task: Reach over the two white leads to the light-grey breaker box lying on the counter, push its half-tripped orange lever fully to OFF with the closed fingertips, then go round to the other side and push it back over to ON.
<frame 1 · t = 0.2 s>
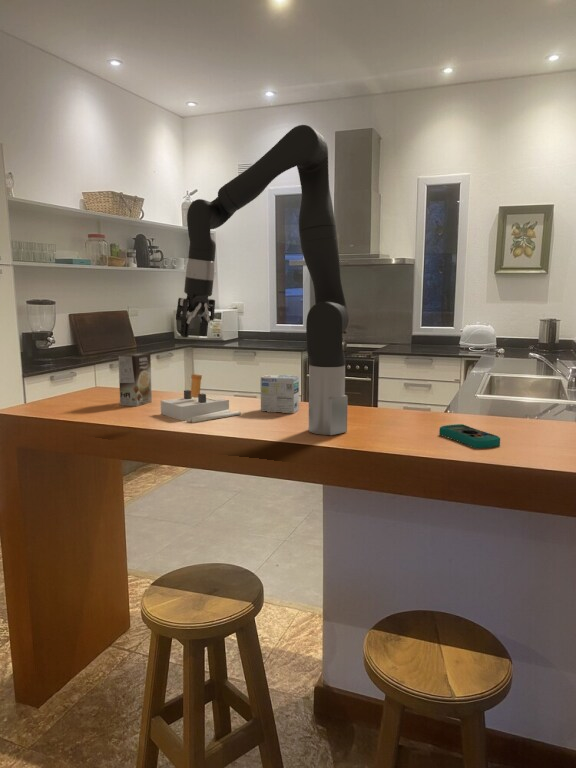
hand: (193, 336, 157), 23 cm above the table, tool pointing down, fingers open, 8 cm apart
coffee box: (136, 404, 184), on the table
breaker box: (195, 413, 168), on the table
cord a: (217, 418, 161), on the table
digital multimeter: (468, 442, 138), on the table
cord b: (209, 417, 163), on the table
lever: (195, 385, 167), point 8 cm above the table, hinge at -6.0°
light bulb box: (280, 411, 173), on the table
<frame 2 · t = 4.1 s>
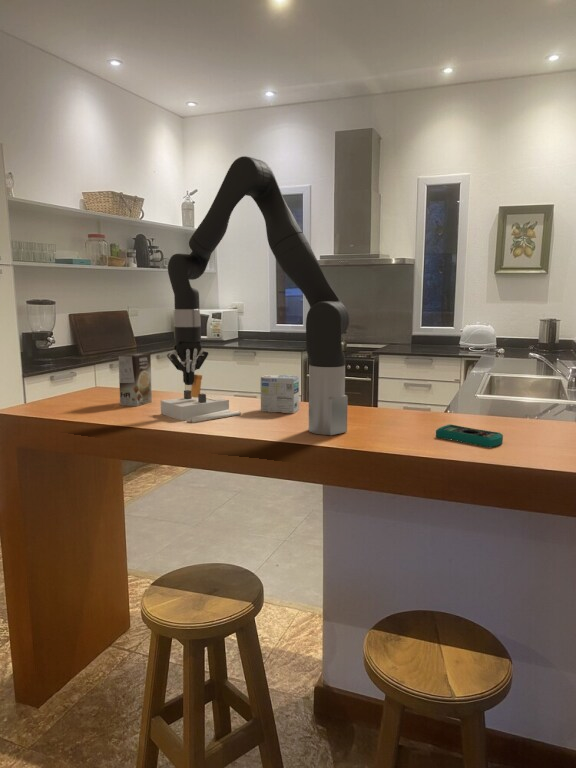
hand: (188, 384, 166), 9 cm above the table, tool pointing down, fingers closed
lever: (196, 385, 167), point 8 cm above the table, hinge at -7.4°, touching gripper
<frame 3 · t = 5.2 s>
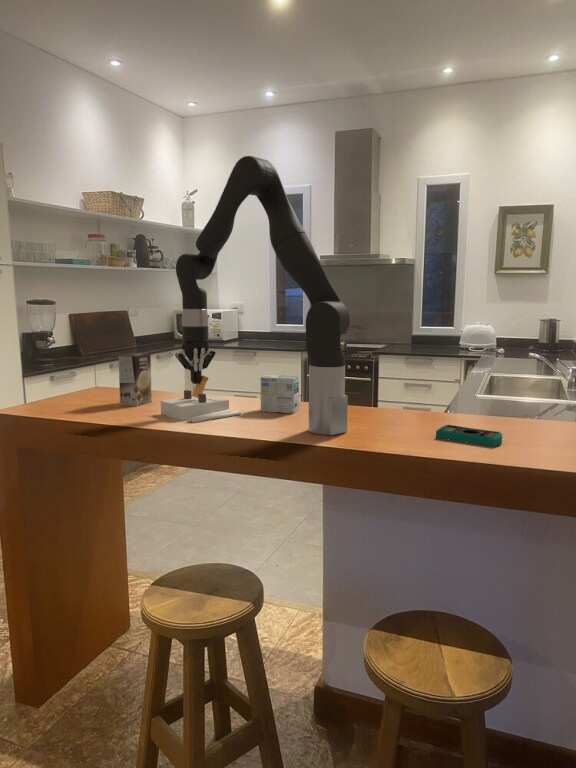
hand: (196, 383, 167), 9 cm above the table, tool pointing down, fingers closed
lever: (199, 386, 168), point 8 cm above the table, hinge at -25.3°, touching gripper
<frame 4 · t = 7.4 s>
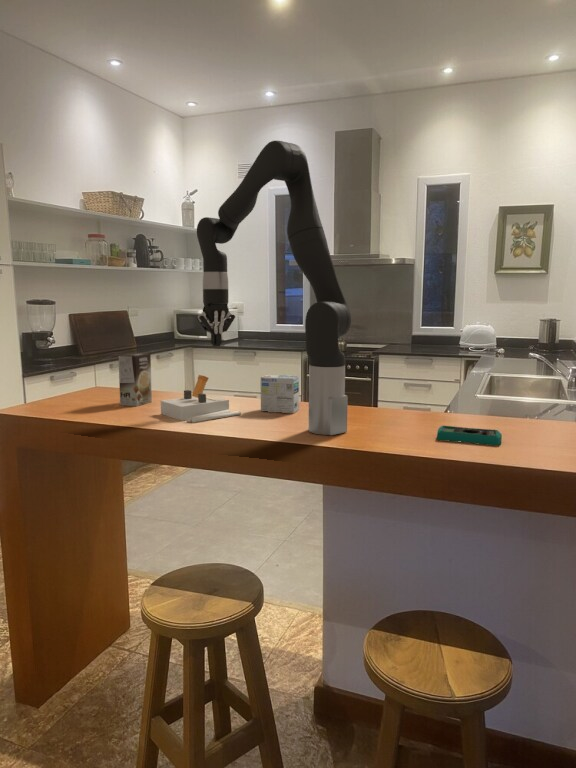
hand: (216, 346, 170), 20 cm above the table, tool pointing down, fingers closed
lever: (199, 386, 168), point 8 cm above the table, hinge at -25.5°
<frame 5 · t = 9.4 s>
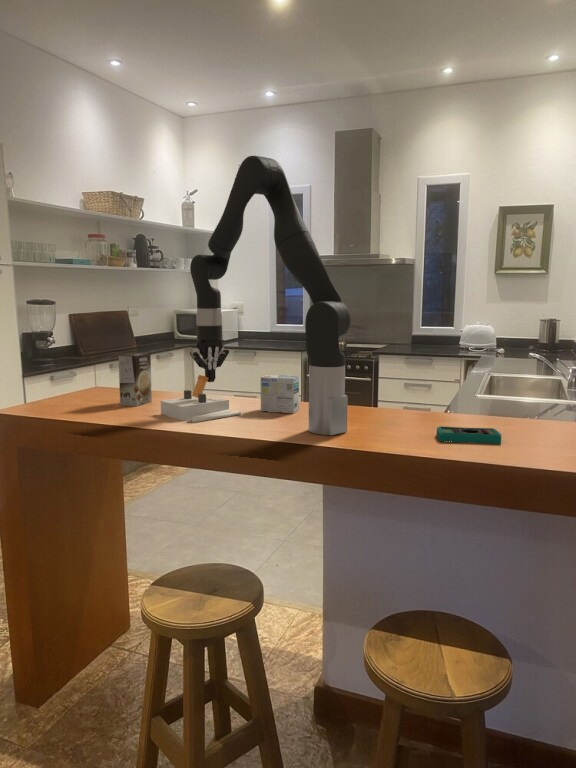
hand: (210, 381, 171), 9 cm above the table, tool pointing down, fingers closed
lever: (199, 386, 168), point 8 cm above the table, hinge at -25.3°, touching gripper
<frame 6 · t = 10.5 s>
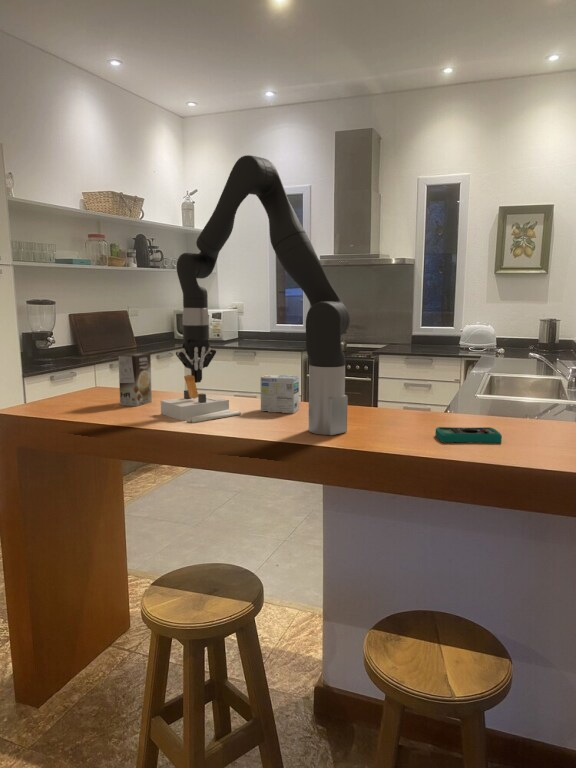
hand: (196, 382, 168), 9 cm above the table, tool pointing down, fingers closed
lever: (191, 386, 166), point 8 cm above the table, hinge at 13.6°, touching gripper
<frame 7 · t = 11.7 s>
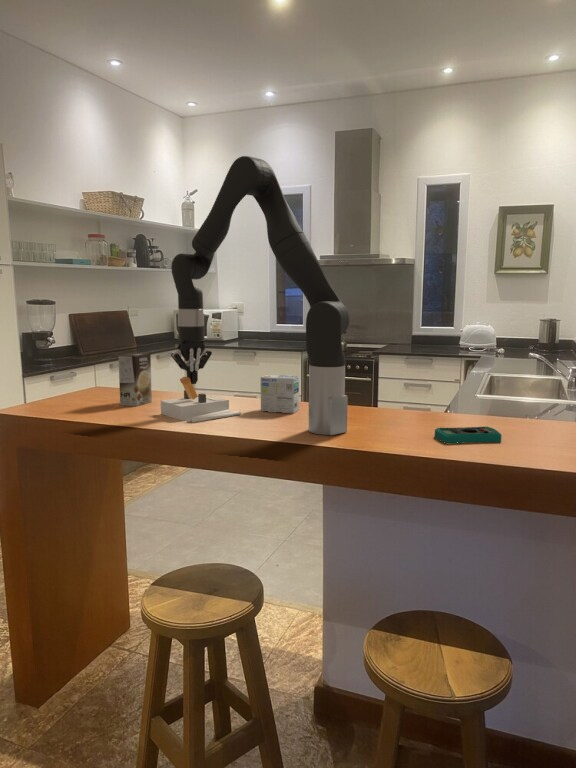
hand: (192, 383, 167), 9 cm above the table, tool pointing down, fingers closed
lever: (189, 388, 166), point 8 cm above the table, hinge at 26.0°, touching gripper
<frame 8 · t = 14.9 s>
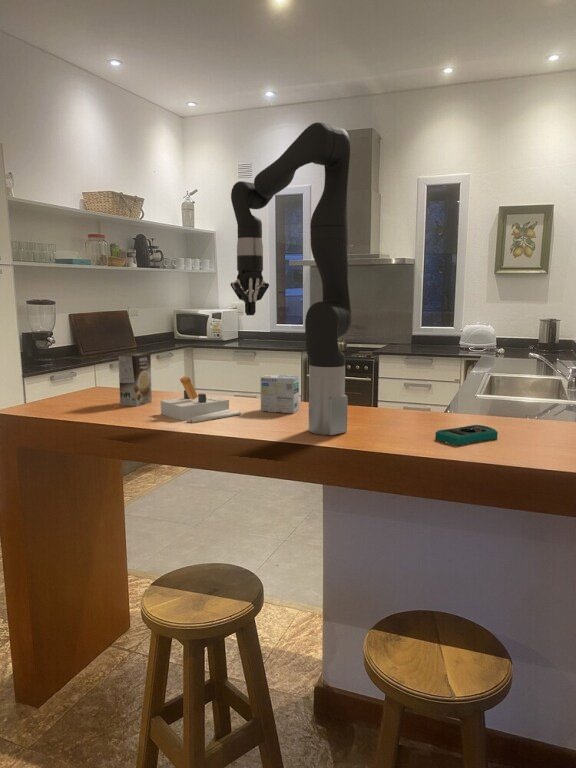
hand: (250, 315, 166), 29 cm above the table, tool pointing down, fingers closed
lever: (189, 388, 166), point 8 cm above the table, hinge at 26.0°
at the end: lever at +26° (first picture: -6°); lever touching nothing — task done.
